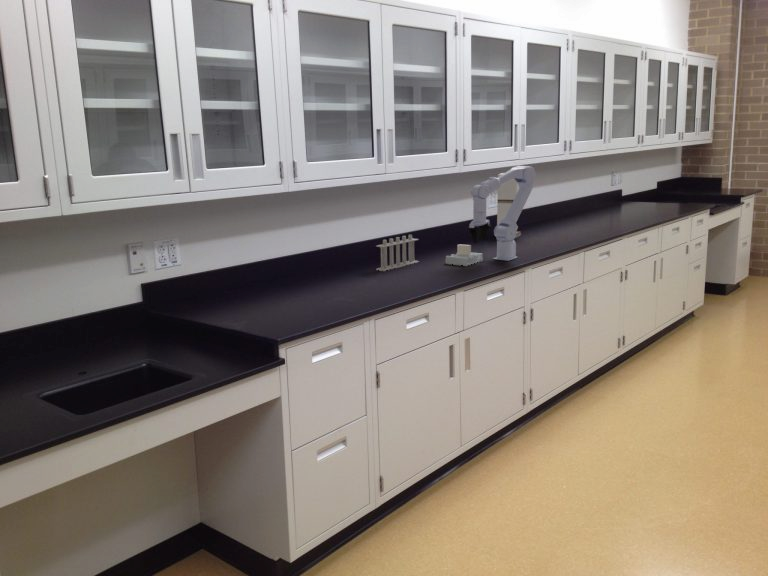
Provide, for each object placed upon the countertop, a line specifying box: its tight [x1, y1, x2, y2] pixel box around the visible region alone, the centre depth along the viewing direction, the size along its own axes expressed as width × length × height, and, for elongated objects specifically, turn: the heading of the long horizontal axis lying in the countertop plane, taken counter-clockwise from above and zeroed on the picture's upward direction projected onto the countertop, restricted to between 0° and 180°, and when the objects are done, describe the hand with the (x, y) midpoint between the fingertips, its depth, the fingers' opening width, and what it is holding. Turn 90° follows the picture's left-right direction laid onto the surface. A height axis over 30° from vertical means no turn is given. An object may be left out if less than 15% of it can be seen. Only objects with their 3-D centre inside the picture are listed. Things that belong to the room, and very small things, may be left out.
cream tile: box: [456, 243, 472, 256], centre depth 306 cm, size 2×6×7 cm, turn 52°
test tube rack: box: [375, 234, 420, 272], centre depth 301 cm, size 25×4×13 cm, turn 139°
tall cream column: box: [496, 172, 522, 239], centre depth 376 cm, size 11×11×35 cm
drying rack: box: [445, 251, 484, 267], centre depth 307 cm, size 14×11×4 cm
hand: (479, 241), depth 305 cm, fingers open, 7 cm apart
